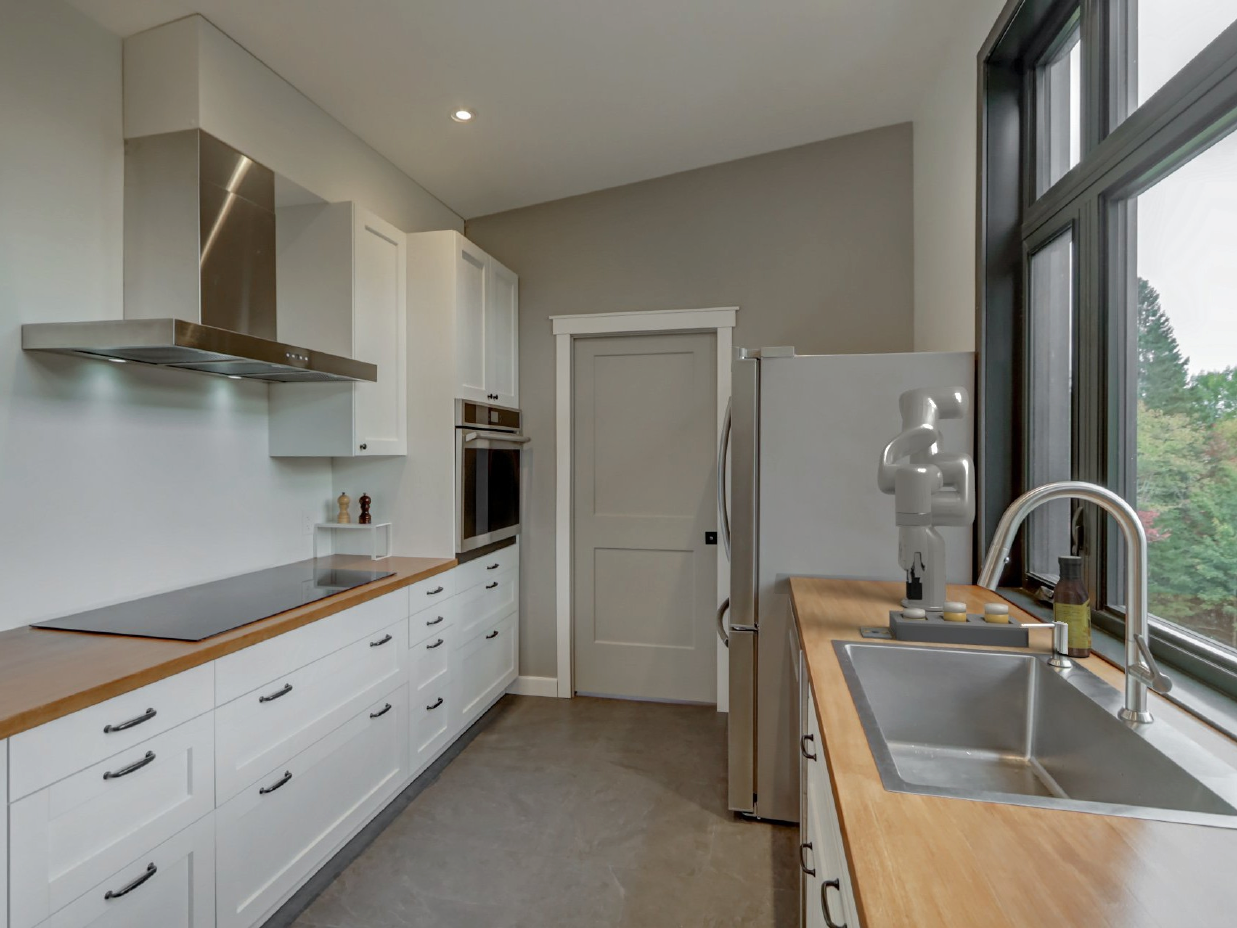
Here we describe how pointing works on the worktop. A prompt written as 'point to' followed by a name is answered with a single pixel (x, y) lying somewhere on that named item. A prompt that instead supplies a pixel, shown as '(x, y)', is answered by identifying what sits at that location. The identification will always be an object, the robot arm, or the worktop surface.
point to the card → (875, 633)
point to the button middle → (954, 611)
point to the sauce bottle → (1073, 605)
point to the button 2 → (996, 613)
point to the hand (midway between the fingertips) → (914, 598)
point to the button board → (958, 630)
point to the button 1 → (914, 613)
